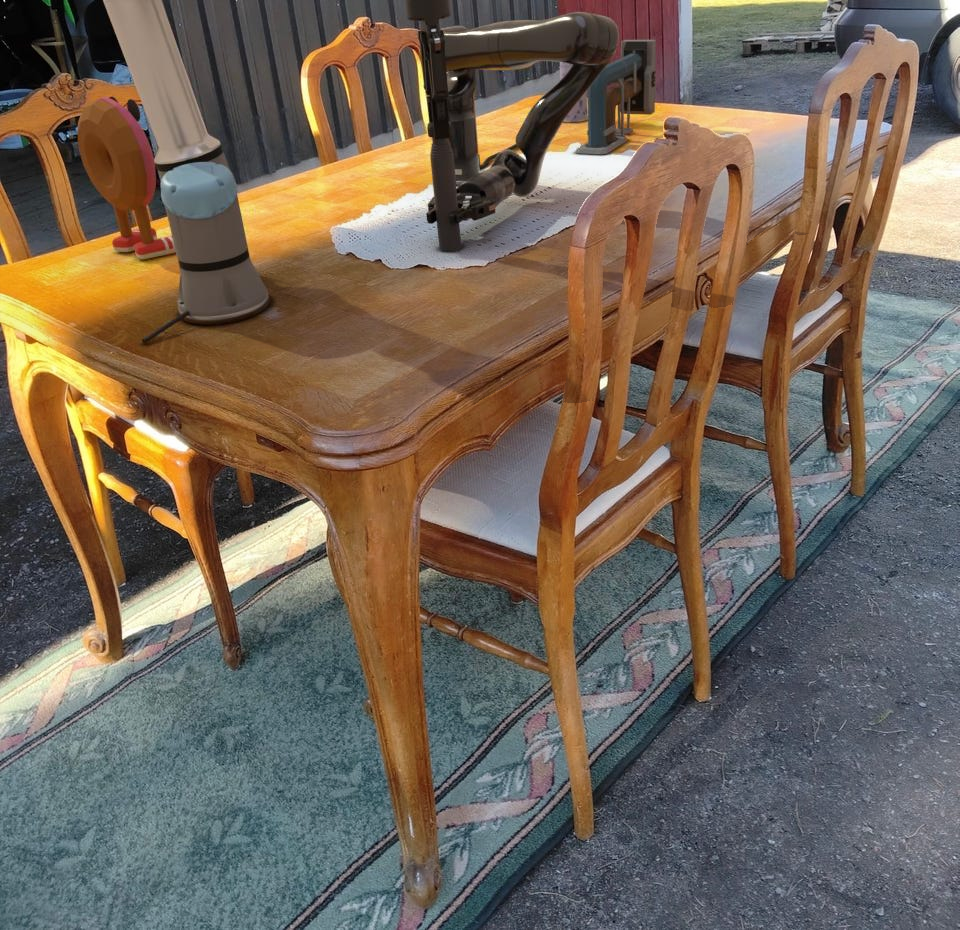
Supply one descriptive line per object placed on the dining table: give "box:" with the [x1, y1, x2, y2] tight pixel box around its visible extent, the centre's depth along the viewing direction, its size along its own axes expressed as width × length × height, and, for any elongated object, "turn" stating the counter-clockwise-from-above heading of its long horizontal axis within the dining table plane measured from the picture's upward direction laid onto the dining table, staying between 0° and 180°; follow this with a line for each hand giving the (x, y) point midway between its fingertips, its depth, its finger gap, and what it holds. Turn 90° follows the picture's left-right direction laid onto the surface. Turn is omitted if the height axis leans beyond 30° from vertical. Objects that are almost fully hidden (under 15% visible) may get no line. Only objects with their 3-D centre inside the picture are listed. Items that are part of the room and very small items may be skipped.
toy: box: [77, 96, 176, 260], centre depth 191 cm, size 21×10×30 cm, turn 47°
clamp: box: [574, 39, 657, 155], centre depth 249 cm, size 35×9×21 cm, turn 151°
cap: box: [426, 122, 452, 139], centre depth 174 cm, size 4×4×2 cm
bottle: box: [429, 138, 462, 252], centre depth 180 cm, size 4×4×22 cm
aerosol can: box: [559, 62, 588, 123], centre depth 273 cm, size 8×8×20 cm
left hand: (440, 135), depth 175 cm, fingers closed on cap, 4 cm apart
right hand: (440, 219), depth 180 cm, fingers closed on bottle, 4 cm apart
